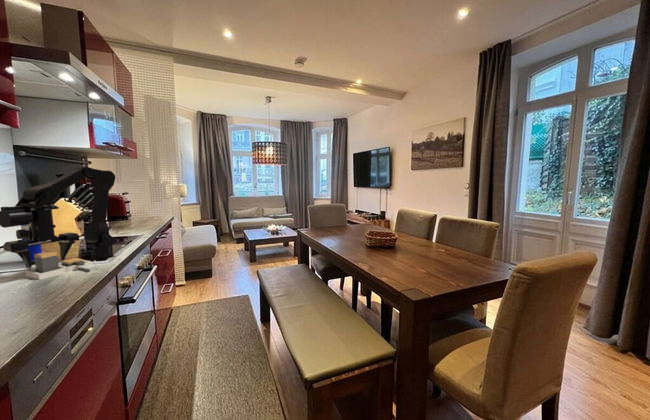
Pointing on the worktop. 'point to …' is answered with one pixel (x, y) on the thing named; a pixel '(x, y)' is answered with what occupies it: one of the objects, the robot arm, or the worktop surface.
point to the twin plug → (74, 263)
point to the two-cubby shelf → (61, 270)
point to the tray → (35, 266)
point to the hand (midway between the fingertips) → (46, 263)
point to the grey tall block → (46, 261)
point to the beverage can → (32, 247)
